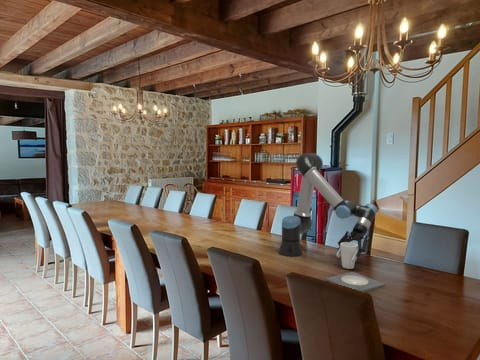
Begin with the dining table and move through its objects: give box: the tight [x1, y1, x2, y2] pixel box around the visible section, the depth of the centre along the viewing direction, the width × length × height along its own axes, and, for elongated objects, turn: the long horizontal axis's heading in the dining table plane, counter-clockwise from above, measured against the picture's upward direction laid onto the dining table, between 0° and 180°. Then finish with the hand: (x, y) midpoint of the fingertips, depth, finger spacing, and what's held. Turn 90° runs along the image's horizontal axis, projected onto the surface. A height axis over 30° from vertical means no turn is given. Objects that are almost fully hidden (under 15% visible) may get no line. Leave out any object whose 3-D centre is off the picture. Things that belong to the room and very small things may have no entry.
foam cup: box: [340, 241, 358, 270], centre depth 196 cm, size 10×9×13 cm
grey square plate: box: [325, 271, 386, 293], centre depth 175 cm, size 20×20×2 cm
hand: (345, 258), depth 194 cm, fingers closed on foam cup, 9 cm apart
